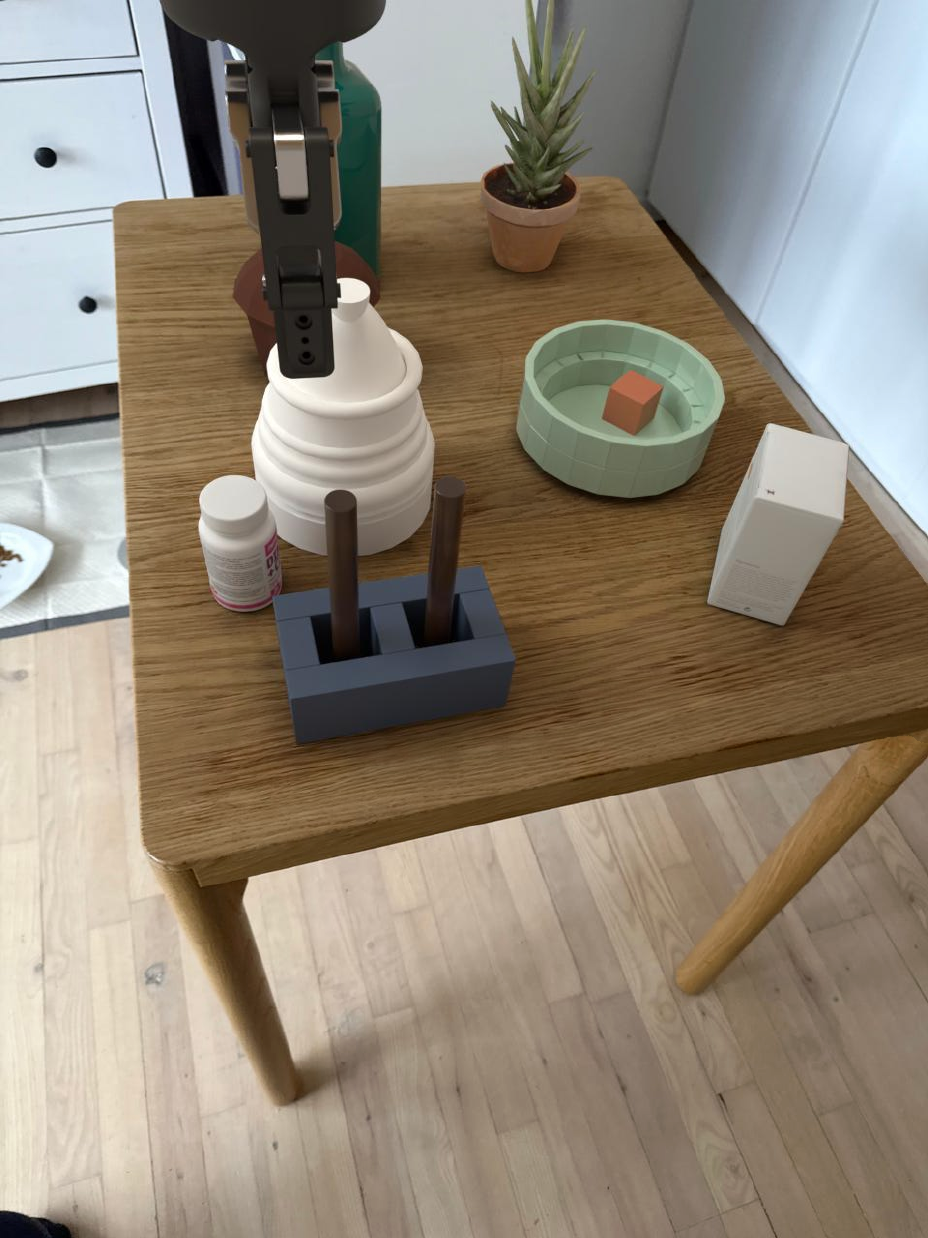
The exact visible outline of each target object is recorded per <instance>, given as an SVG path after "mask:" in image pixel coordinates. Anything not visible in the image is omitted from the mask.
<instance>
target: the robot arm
mask: <svg viewBox="0 0 928 1238" xmlns="http://www.w3.org/2000/svg"><path fill="white" fill-rule="evenodd" d="M159 4H160V6H161V8H162V10H163V11H164V13H165V14H166V16H167V17H168V18H169V19H170V20H171V21H172V22H174V24H176V25H177V26H178V27H180V28H181V29H183V30H184V31H186V32H187V33H190V34H191V35H194V36H196V37H198V38H201V39H203V40H206V41H209V42H216V41H220V42H222V43H225V44H226V45H229V46H232V47H233V48H236V49H237V50H239V51H240V52H242V54H243V56H244V59H224V60H223V65H224V75H225V83H226V88H225V89H224V97H225V105H226V113H227V115H226V116H227V124H228V131H229V134H230V138H231V141H232V143H233V145H234V147H235V148H236V149H237V150H238V157H239V168H240V178H241V185H242V194H243V195H242V196H243V205H244V215H245V218H246V221H247V224H248V227H249V228H250V230H252V231H253V232H255V233H256V234H258V235H259V237H260V238H259V239H260V246H261V247H260V248H262V255H263V264H264V273H265V275H262V279H263V286H262V292H263V300H264V301H266V300H268V307H269V311H273V314H274V323H275V332H276V341H277V349H278V358H279V367H280V372H281V374H282V375H283V376H284V377H286V378H289V379H302V378H321V377H327V376H329V375H331V374H332V373H333V371H334V369H335V364H334V345H333V327H332V309H338V298H341V287H340V283H337V273H336V258H335V239H334V230H335V229H337V227H338V226H339V224H340V220H341V216H342V207H341V195H340V182H339V170H338V157H337V146H338V145H339V143H340V139H341V133H342V118H341V105H340V95H339V89H335V80H334V67H333V61H326V60H315V57H316V54H317V53H318V52H319V51H321V50H322V49H323V48H325V47H327V46H329V45H331V44H333V43H336V42H338V41H340V42H343V44H344V43H348V42H351V41H354V40H356V39H357V38H360V37H362V36H365V34H367V33H368V32H370V31H371V30H372V29H373V28H374V27H376V26H377V25H378V23H379V22H380V20H381V19H382V17H383V15H384V13H385V9H386V6H387V5H386V4H387V0H159ZM317 261H318V263H319V265H318V263H316V262H317ZM278 266H279V267H278Z"/></svg>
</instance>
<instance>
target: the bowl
mask: <svg viewBox="0 0 928 1238" xmlns="http://www.w3.org/2000/svg"><path fill="white" fill-rule="evenodd" d="M629 370H632V371H634V372H636V373H638V374H640V375H642V376H644V377H646V378H648V379H650V380H652V381H654V382H656V383H658V384H660V385H662V386H663V391H662V394H661V397H660V400H659V403H658V407H657V410H656V413H655V416H654V418H653V419H652V420H651V421H650V422H649V423H648V424H647V425H646V426H645V427H644V428H643V429H642V430H640V431H639V432H638V433H637V434H636V435H635V436H633V435H631V434H629V433H627V432H626V431H624V430H622V429H620V428H618V427H616V426H614V425H613V424H611V423H609V422H607V421H605V420H603V419H602V416H603V412H604V408H605V404H606V400H607V396H608V392H609V388H610V387H611V386H612V385H613V384H614V383H615V382H616V381H618V380H619V379H620V378H621V377H622V376H623V375H625V374H626V373H627V372H628V371H629ZM520 385H521V386H520V390H519V398H518V402H517V410H516V423H515V424H516V428H515V429H516V433H517V435H518V437H519V439H520V442H521V445H522V447H523V449H524V451H525V452H526V453H527V454H528V455H529V456H530V458H531V459H533V461H535V463H536V464H537V465H538V466H539V467H540V468H541V469H542V470H543V471H545V472H547V473H548V474H549V475H552V476H553V477H554V478H556V479H558V480H560V481H561V482H563V483H564V484H566V485H568V486H571V487H574V488H577V489H580V490H583V491H586V492H589V493H592V494H595V495H599V496H606V497H608V496H609V497H618V498H627V499H633V498H641V497H642V498H643V497H649V496H650V497H651V496H658V495H661V494H663V493H666V492H668V491H670V490H673V489H675V488H678V487H680V486H683V485H684V484H686V482H688V480H689V479H691V478H692V476H694V475H695V474H696V473H697V472H698V471H699V470H700V468H701V465H702V463H703V461H704V458H705V455H706V453H707V450H708V447H709V445H710V442H711V439H712V437H713V435H714V432H715V429H716V427H717V424H718V421H719V418H720V416H721V413H722V410H723V407H724V404H725V402H726V397H725V390H724V384H723V380H722V377H721V376H720V374H719V373H718V372H717V370H716V368H715V366H713V364H712V362H711V361H710V360H709V359H708V358H707V357H705V355H703V353H701V352H699V351H698V350H697V349H696V348H695V347H693V346H692V345H691V344H689V343H688V342H687V341H685V340H682V339H680V338H678V337H677V336H675V335H672V334H671V333H668V332H666V331H664V330H662V329H659V328H655V327H652V326H648V325H645V324H641V323H638V322H634V321H624V320H617V319H615V320H614V319H605V318H604V319H591V320H578V321H575V322H571V323H568V324H565V325H561V326H559V327H555V328H553V329H552V330H549V332H547V333H546V334H544V335H543V336H541V337H539V339H537V340H536V341H535V342H534V344H533V345H532V347H531V348H530V350H529V352H527V355H526V357H525V360H524V366H523V372H522V378H521V384H520Z"/></svg>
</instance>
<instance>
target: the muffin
mask: <svg viewBox="0 0 928 1238" xmlns="http://www.w3.org/2000/svg"><path fill="white" fill-rule="evenodd" d="M335 258H336V273H337V279H341V278H352V279H357V280H360V281H362V282H364V283H365V284H367V285H368V287H369V288H370V299H369V303H370V304H371V305H372V307H373V308H375V306H376V305H377V304H378V303H379V301H380V300H381V285H380V283H381V282H380V280H379V279H377V278H376V276H375V274H374V272H373V270H372V268H371V267H370V266H369V265H368V264H367V263H366V262H365V261H364V260H363V259H362V258H361V257H360V256H359V255H358V254H357V253H356V252H355V251H354V250H353V249H352V248H350V247H348V246H346V245H344V244H341V243H339V242H336V241H335ZM316 263H318V261H317V262H316ZM318 265H319V263H318ZM278 267H279V266H278ZM262 275H265V273H264V264H263V255H262V247H260V248H259V249H257V251H256V252H255V253H253V254H252V255H251V256H250V257H249V258H248V259H247V260H246V261H245V263H243V264H242V266H241V268H240V269H239V271H238V274H237V276H236V278H234V284H233V291H232V293H233V294H232V299H233V300H234V301H235V302H236V303H237V305H238V306H239V307H240V309H241V310H242V311H243V312H244V314H245V316H246V318H247V320H248V323H249V327H250V330H251V334H252V338H253V342H254V345H255V349H256V352H257V356H258V358H259V360H260V364H261V367H262V372H263V374H264V376H266V377H268V372H267V361H268V358H269V354H270V351H271V350H272V348H273V347H274V346H275V344H276V343H277V341H276V332H275V323H274V314H273V311H269V307H268V300H266V301H264V300H263V292H262V286H263V279H262Z"/></svg>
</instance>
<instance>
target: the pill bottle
mask: <svg viewBox="0 0 928 1238" xmlns="http://www.w3.org/2000/svg"><path fill="white" fill-rule="evenodd" d="M198 501H199V502H198V503H199V509H200V512H201V515H200V517H199V521H198V535H199V539H200V543H201V548H202V552H203V557H204V562H205V566H206V571H207V575H208V580H209V588H210V591H211V593H212V594H211V595H212V596H213V598H214V599H215V601H216V602H217V603H218V604H220V605H221V606H222V607H224V608H226V609H228V610H230V611H234V612H240V613H241V612H244V613H245V612H255V611H259V610H262V609H264V608H266V607H268V606H269V605H271V604H273V598H272V597H273V596H275V595H280V593H281V590H282V587H283V574H282V565H281V557H280V548H279V540H278V534H277V528H276V522H275V518H274V515H273V513H272V511H271V510H270V509H269V508H268V502H267V496H266V492H265V489H264V488H263V486H262V485H261V484H260V483H259V482H257V481H256V479H254V478H252V477H249V476H246V475H243V474H242V475H241V474H229V475H224V476H220V477H217V478H215V479H213V480H211V481H210V482H208V483H207V484H206V485H205V486H204V487H203V488H202V491H201V492H200V493H199V498H198Z"/></svg>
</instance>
